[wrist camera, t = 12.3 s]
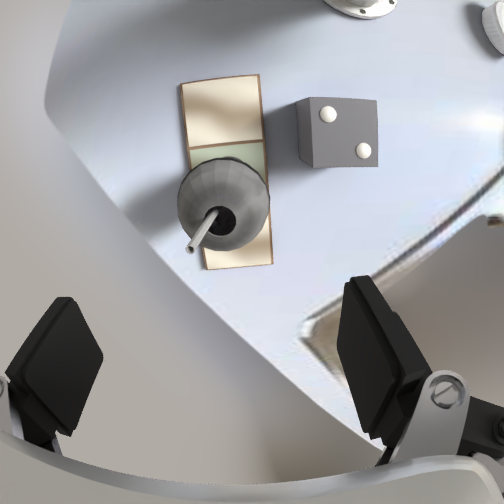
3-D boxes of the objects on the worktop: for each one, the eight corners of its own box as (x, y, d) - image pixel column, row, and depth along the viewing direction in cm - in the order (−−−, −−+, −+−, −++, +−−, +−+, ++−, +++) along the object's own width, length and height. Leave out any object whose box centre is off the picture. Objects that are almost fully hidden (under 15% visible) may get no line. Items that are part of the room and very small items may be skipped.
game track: (181, 84, 28) (179, 83, 27) (258, 75, 28) (259, 73, 27) (206, 267, 38) (205, 270, 37) (272, 261, 38) (273, 265, 37)
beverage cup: (253, 209, 34) (268, 319, 16) (193, 199, 33) (143, 299, 15) (266, 150, 31) (303, 197, 13) (203, 139, 30) (148, 171, 12)
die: (295, 101, 29) (309, 96, 23) (351, 102, 29) (377, 100, 23) (299, 158, 32) (313, 168, 26) (353, 157, 32) (378, 167, 26)
